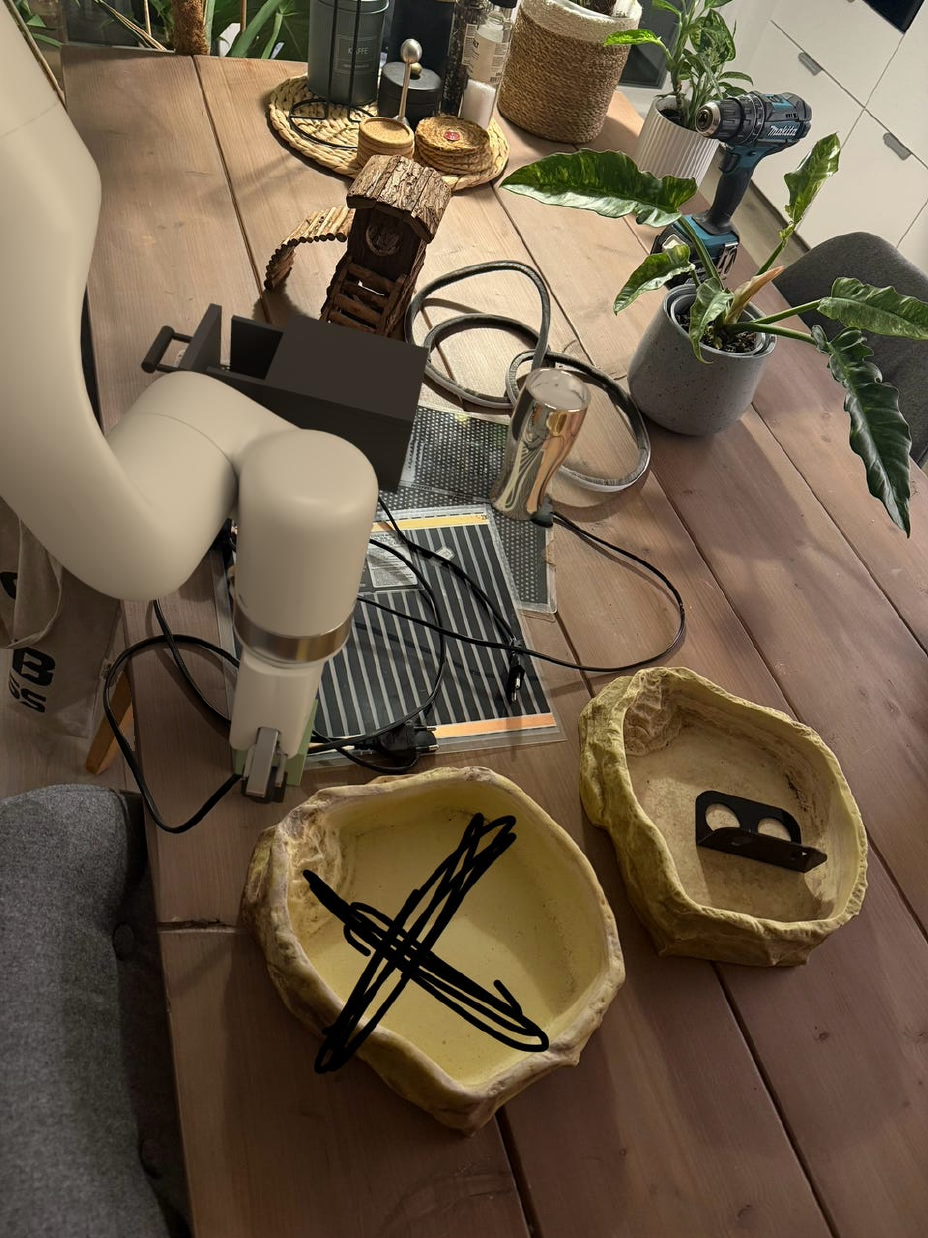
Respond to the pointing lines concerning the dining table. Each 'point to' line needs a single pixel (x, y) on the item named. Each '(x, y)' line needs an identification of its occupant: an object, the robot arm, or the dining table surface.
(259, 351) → the drawer
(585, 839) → the dining table surface
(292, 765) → the block
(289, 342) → the cabinet
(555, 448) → the beer glass
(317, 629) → the robot arm
